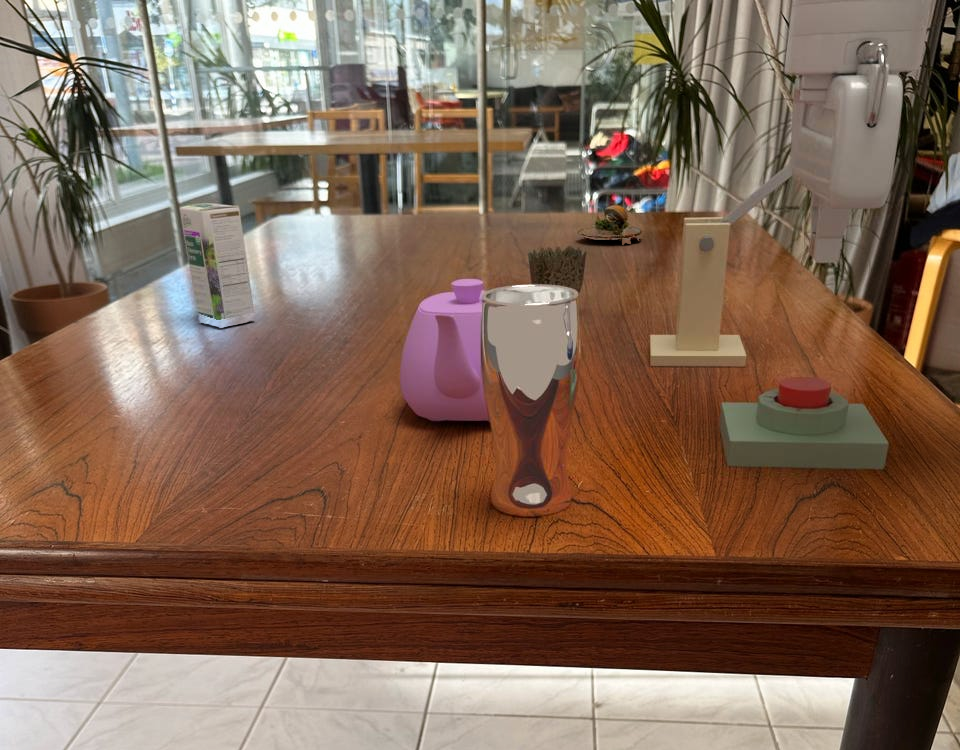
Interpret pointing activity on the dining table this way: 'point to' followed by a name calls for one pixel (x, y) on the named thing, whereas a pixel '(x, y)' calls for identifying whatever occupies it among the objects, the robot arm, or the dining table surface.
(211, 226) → the syrup box
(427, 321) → the teapot
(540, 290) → the beer glass
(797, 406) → the button
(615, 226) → the moss table decoration
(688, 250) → the bracket
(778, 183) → the lever
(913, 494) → the dining table surface
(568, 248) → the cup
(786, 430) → the button box
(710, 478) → the dining table surface
